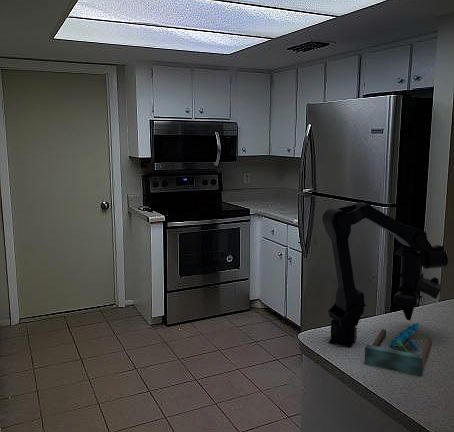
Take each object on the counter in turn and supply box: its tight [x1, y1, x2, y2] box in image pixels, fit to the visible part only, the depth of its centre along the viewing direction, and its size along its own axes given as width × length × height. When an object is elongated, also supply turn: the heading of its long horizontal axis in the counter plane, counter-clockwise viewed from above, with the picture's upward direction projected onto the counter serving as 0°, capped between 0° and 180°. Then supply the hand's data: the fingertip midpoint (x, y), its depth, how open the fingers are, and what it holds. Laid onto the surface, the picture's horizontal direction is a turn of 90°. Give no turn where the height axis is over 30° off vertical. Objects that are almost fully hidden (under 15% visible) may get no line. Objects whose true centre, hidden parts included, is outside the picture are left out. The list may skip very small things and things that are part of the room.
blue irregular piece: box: [389, 322, 420, 353], centre depth 129 cm, size 11×6×10 cm
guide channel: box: [363, 328, 433, 377], centre depth 126 cm, size 14×22×4 cm, turn 150°
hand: (408, 319), depth 139 cm, fingers closed
